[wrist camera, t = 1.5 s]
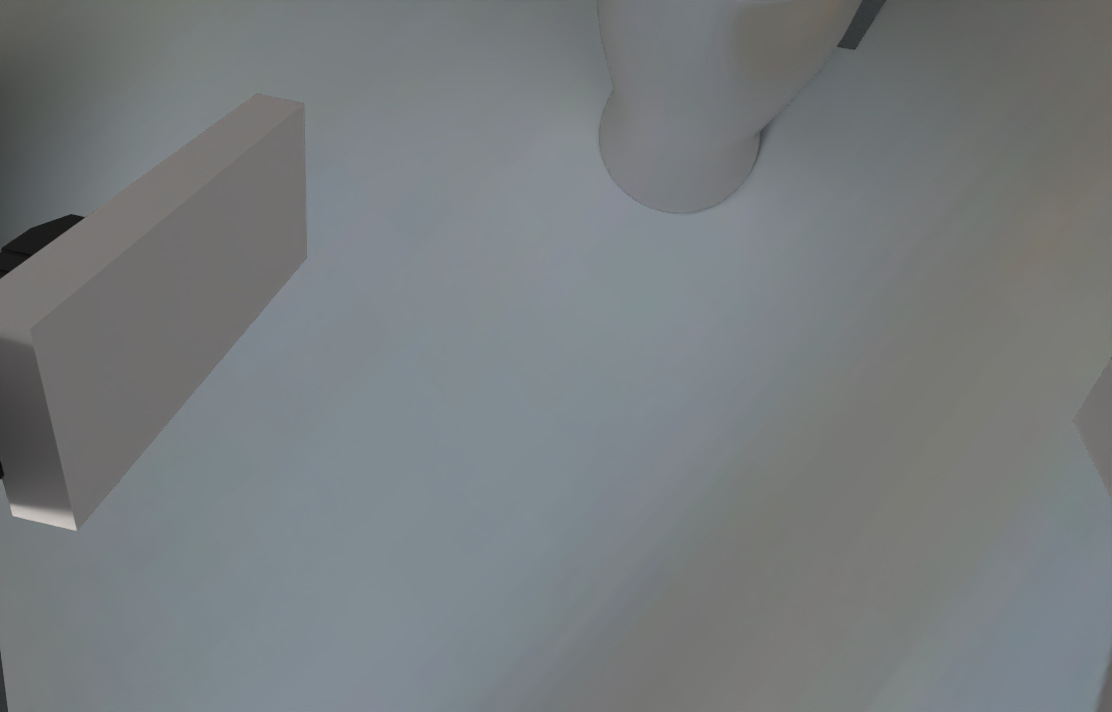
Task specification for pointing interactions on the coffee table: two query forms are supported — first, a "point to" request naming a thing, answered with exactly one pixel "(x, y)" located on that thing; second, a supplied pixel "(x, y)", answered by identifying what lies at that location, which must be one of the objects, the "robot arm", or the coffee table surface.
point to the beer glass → (704, 88)
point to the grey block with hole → (861, 23)
